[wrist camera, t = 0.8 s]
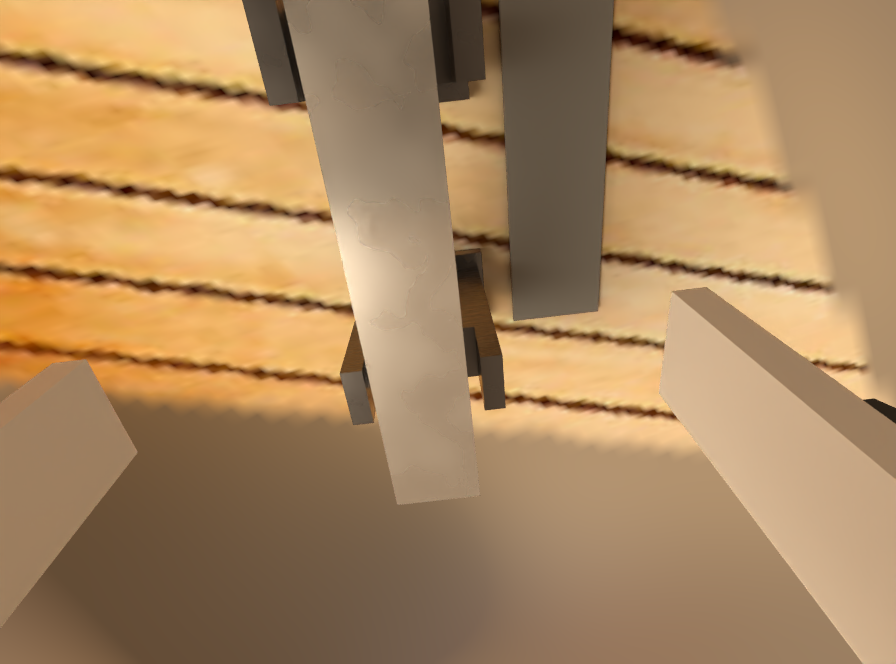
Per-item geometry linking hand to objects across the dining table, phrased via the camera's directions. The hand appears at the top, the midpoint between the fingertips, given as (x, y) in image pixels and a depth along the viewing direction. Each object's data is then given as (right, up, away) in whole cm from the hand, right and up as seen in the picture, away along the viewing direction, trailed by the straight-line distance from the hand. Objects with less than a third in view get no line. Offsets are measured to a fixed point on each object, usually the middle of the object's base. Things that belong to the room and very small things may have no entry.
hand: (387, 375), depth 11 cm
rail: (-1, +6, +10) cm, 12 cm away
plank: (+8, +11, +18) cm, 23 cm away
